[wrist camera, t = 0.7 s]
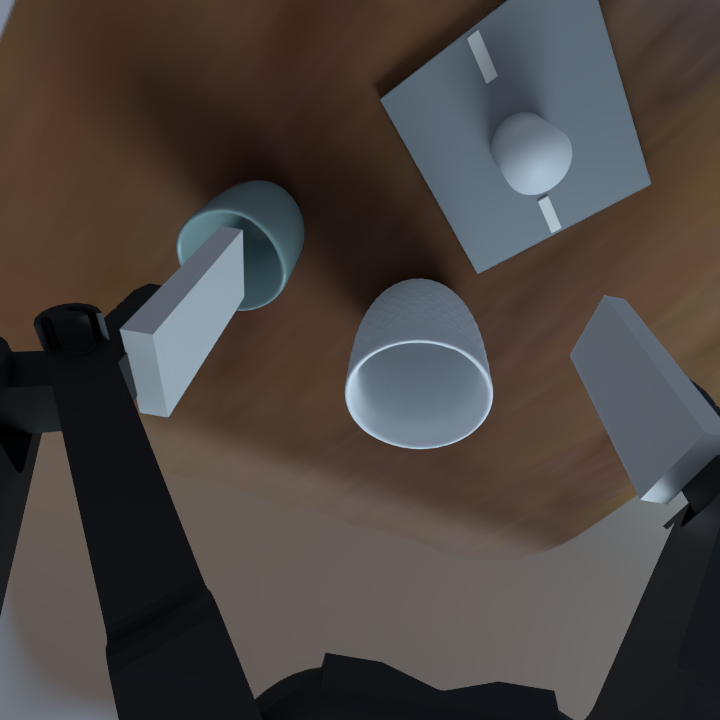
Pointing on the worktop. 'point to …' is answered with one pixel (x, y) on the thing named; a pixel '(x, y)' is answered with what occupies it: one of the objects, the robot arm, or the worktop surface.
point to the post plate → (529, 80)
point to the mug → (418, 368)
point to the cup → (252, 235)
